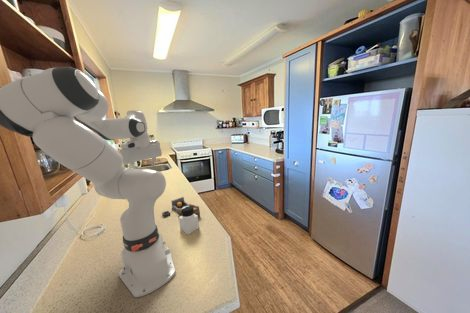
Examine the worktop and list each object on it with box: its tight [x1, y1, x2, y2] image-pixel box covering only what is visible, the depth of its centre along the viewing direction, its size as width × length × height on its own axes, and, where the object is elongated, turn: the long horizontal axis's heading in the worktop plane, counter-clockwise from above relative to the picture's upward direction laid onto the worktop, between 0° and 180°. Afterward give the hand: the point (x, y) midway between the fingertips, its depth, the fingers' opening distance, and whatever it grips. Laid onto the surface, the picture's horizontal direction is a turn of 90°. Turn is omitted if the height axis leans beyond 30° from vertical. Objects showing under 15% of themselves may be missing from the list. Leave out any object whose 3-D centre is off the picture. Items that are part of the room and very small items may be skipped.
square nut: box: [161, 210, 171, 218], centre depth 106 cm, size 4×4×2 cm
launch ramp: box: [177, 203, 201, 218], centre depth 104 cm, size 12×8×6 cm, turn 40°
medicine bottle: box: [178, 206, 200, 235], centre depth 90 cm, size 7×7×12 cm
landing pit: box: [170, 196, 190, 214], centre depth 113 cm, size 10×8×5 cm
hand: (144, 167), depth 96 cm, fingers open, 8 cm apart
